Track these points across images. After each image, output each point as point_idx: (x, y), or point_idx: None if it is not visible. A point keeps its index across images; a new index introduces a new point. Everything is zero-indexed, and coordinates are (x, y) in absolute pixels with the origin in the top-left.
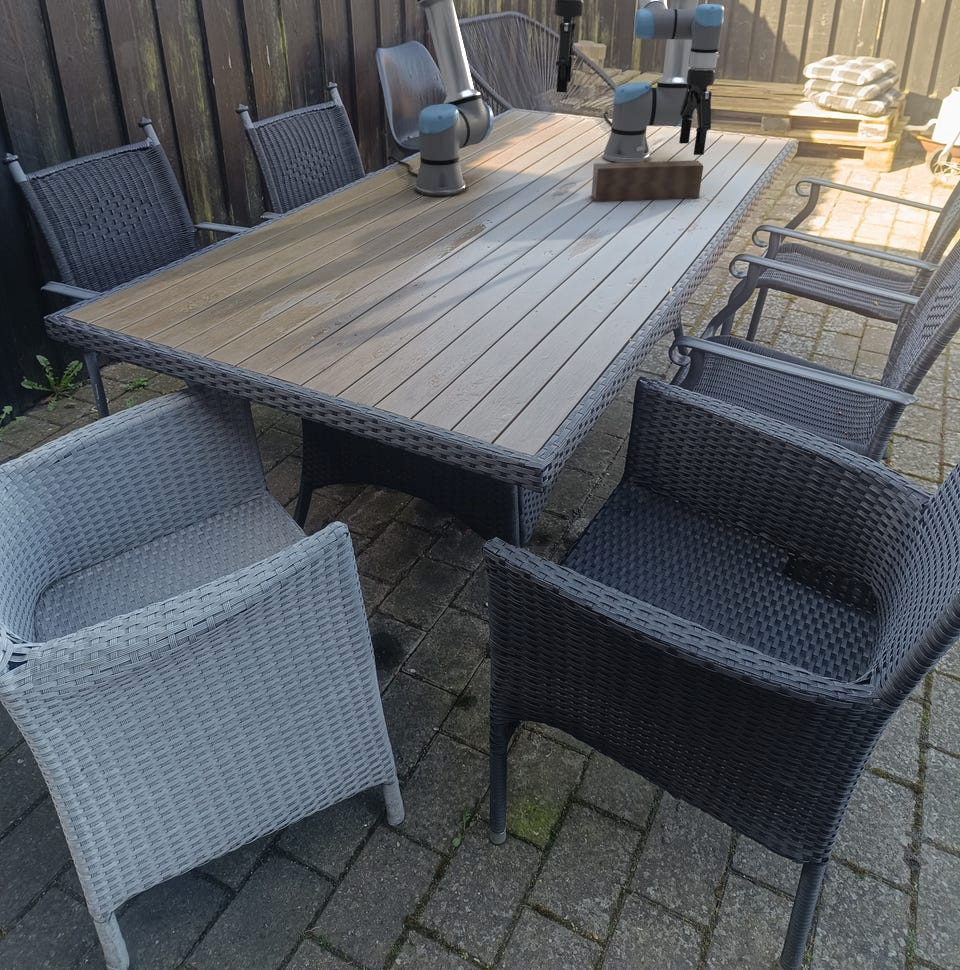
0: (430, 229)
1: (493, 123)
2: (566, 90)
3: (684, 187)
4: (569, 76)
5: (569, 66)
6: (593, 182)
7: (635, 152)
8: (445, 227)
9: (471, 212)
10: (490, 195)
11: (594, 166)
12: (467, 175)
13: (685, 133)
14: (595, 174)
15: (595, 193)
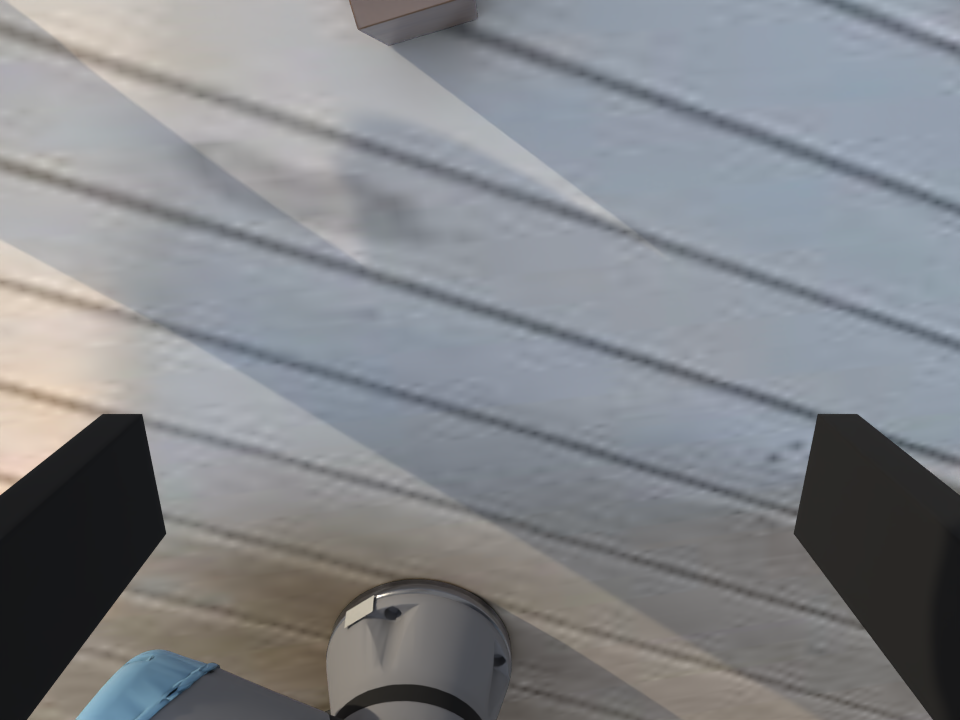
0: None
1: (120, 684)
2: (873, 428)
3: None
4: (103, 463)
5: (6, 571)
6: (399, 32)
7: None
8: None
9: (677, 523)
10: (460, 487)
11: (383, 24)
12: (218, 594)
13: None
14: (426, 16)
15: (466, 17)
